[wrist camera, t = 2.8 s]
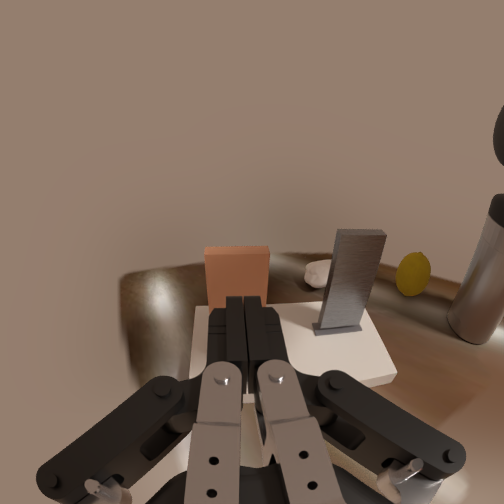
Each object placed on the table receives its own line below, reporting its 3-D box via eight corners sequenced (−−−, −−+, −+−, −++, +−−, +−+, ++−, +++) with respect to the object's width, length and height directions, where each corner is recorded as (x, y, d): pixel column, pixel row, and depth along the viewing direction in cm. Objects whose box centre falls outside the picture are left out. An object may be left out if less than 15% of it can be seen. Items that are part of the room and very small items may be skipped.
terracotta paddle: (261, 344, 29) (267, 245, 23) (262, 353, 28) (269, 253, 22) (213, 346, 29) (205, 246, 23) (213, 354, 28) (204, 254, 22)
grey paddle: (355, 317, 33) (381, 229, 26) (359, 324, 32) (386, 235, 25) (317, 321, 32) (337, 229, 26) (320, 328, 31) (341, 235, 25)
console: (356, 309, 38) (360, 297, 37) (390, 382, 27) (398, 371, 26) (197, 317, 36) (195, 304, 35) (190, 403, 25) (187, 392, 24)
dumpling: (339, 296, 41) (345, 274, 39) (306, 297, 41) (310, 274, 39) (329, 270, 47) (333, 249, 45) (299, 269, 47) (302, 248, 45)
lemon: (425, 300, 39) (443, 258, 35) (406, 310, 37) (424, 266, 33) (404, 281, 44) (418, 241, 40) (383, 290, 42) (397, 246, 38)
